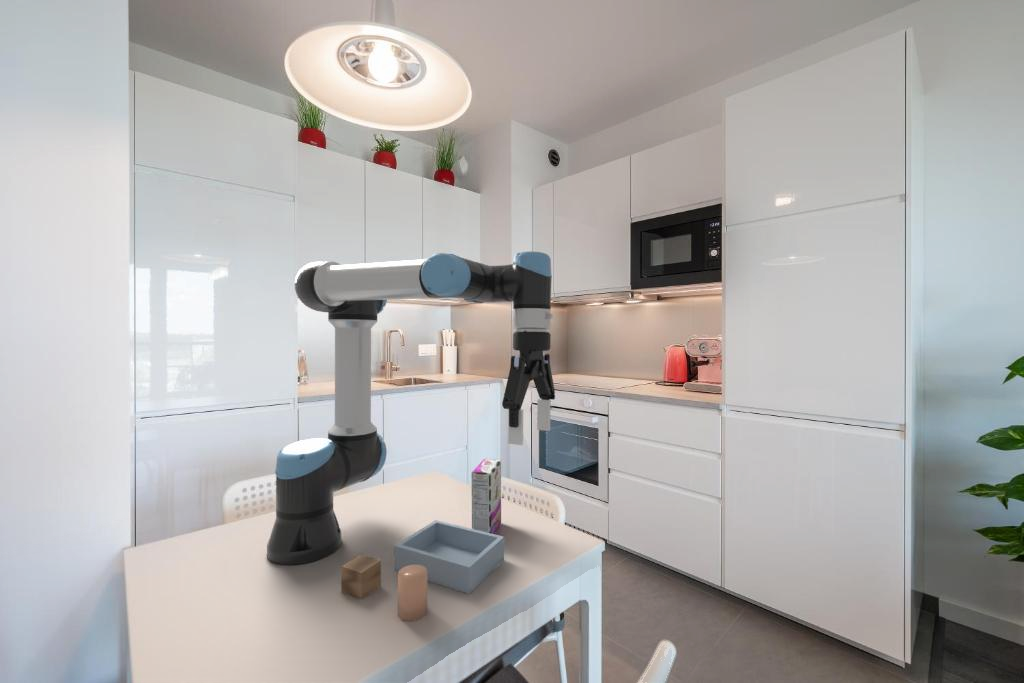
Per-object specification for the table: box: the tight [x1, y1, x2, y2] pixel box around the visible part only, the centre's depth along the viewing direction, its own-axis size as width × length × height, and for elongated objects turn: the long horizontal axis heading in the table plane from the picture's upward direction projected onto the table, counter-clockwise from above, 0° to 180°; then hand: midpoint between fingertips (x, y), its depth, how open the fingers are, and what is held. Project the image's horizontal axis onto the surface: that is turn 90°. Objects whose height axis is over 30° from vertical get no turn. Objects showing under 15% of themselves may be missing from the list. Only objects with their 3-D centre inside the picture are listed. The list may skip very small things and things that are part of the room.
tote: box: [393, 519, 505, 595], centre depth 92 cm, size 18×14×5 cm
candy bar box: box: [471, 458, 502, 535], centre depth 108 cm, size 11×5×16 cm, turn 168°
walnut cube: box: [340, 553, 382, 600], centre depth 83 cm, size 5×5×5 cm
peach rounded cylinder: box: [397, 565, 428, 622], centre depth 76 cm, size 5×5×7 cm
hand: (530, 436), depth 88 cm, fingers open, 13 cm apart
